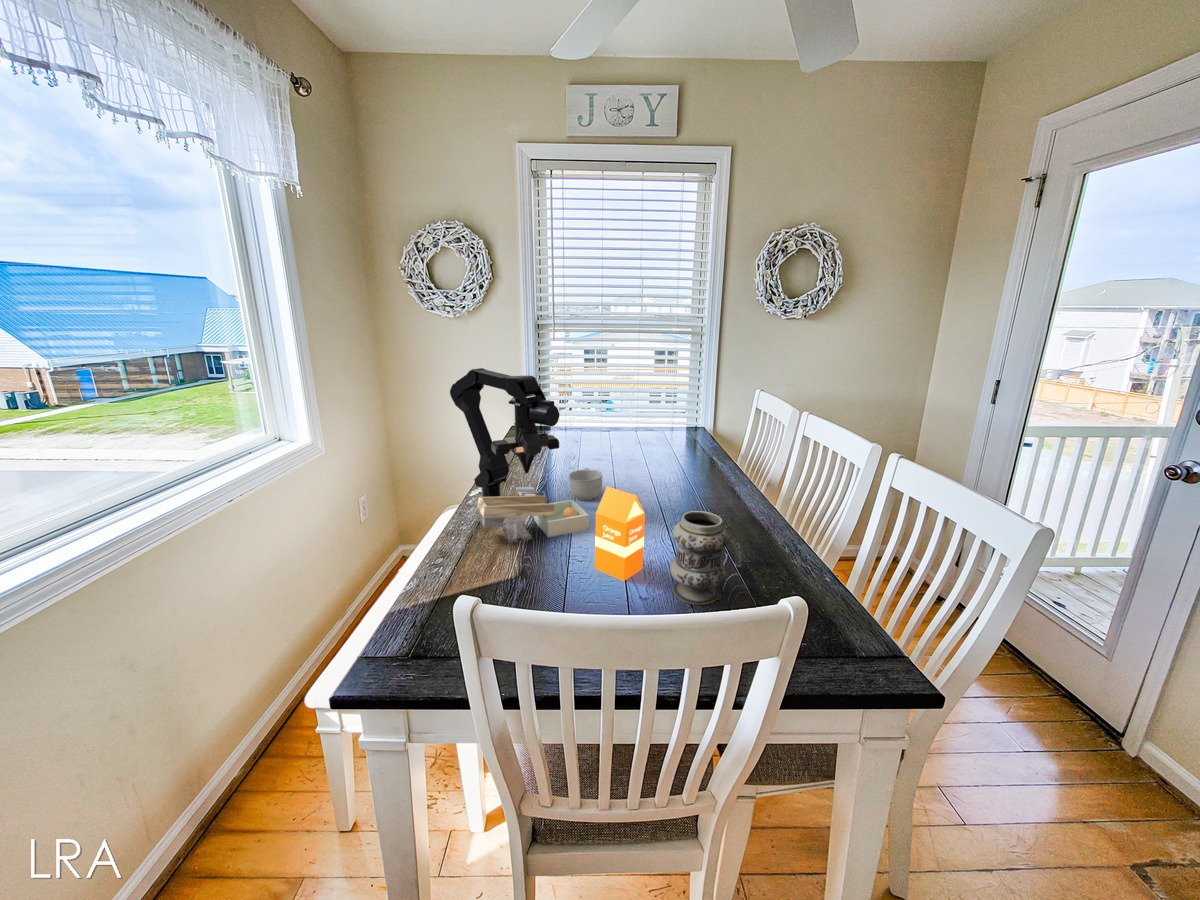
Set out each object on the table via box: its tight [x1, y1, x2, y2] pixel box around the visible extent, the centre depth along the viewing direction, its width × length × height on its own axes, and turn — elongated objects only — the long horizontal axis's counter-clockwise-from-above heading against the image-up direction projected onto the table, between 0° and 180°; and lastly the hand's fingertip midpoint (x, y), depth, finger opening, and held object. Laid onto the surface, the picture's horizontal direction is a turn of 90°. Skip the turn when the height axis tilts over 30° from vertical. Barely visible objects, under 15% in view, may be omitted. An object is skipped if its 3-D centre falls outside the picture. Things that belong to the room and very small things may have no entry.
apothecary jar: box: [669, 510, 730, 606], centre depth 108 cm, size 12×12×18 cm
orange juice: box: [594, 486, 646, 582], centre depth 116 cm, size 8×9×20 cm
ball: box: [563, 507, 577, 518], centre depth 142 cm, size 4×4×4 cm
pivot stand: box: [498, 513, 532, 544], centre depth 135 cm, size 10×6×8 cm, turn 26°
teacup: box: [568, 467, 603, 501], centre depth 163 cm, size 14×11×8 cm
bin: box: [533, 499, 590, 538], centre depth 141 cm, size 12×12×4 cm
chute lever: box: [477, 486, 554, 529], centre depth 139 cm, size 17×19×6 cm
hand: (526, 472), depth 145 cm, fingers closed
